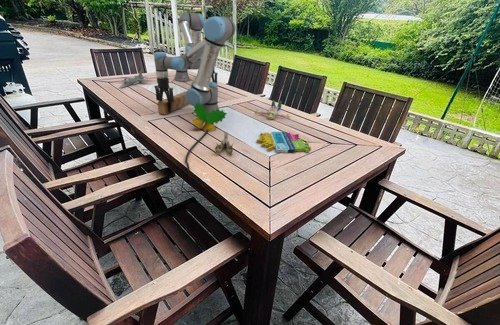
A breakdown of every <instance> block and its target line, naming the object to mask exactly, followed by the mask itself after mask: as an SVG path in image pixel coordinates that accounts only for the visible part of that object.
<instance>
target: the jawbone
mask: <svg viewBox="0 0 500 325" xmlns="http://www.w3.org/2000/svg"><path fill="white" fill-rule="evenodd" d="M223 135H224V136H223V140H222V139H221V142H220V144H218V142H215V144H216V146H215V148H214V149H215V152H214V154H215V155H217V156H218V155H220V153H221V152H223V151H224V150H226V152H227V153H228V155H229V156H233V155H234V154H233V153H234V148H233V144H234V143H230V140H228V139H229V138H228V137H229V136H228V135H229V133H228V131H226V132H224V134H223Z"/></svg>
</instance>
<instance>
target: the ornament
mask: <svg viewBox="0 0 500 325" xmlns="http://www.w3.org/2000/svg"><path fill="white" fill-rule="evenodd" d="M219 110H220V108H219V109H217V110H216V111H214V110H212V112H211V113H208V112H206V109H204V106H201V104H198V103H197V102H196V106H193V112H194V113H195V118H192V119H191V122H192V123H193V125H195V127H197V128H198V129H202V130H203V131H205V132H206V131H207V129H208V132H212V131H213V132H214V131H215V130H216V126H215V124H218V123H219V122H223V119H226V115H227V114H228V113H227V112H224V110H223V109H221V110H220V111H219ZM207 113H208V115H207ZM214 123H215V124H214Z"/></svg>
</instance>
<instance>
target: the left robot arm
mask: <svg viewBox="0 0 500 325" xmlns="http://www.w3.org/2000/svg"><path fill="white" fill-rule="evenodd" d="M203 15H204V14H202V13H198V12H183V13H182V14H181V15H180V16H179V18H178V23H177V24H178V28H179V29H180V30H181V33H182V36H183V39H184V43H185V48H184V50H185V53H187V52H188V51H189V50H190V49H192V48H193V47H194V46H196V45H197V44H198V43H199V42H201V32H202V31H203V27H204V23H205V18H204V16H203ZM201 58H202V57H201ZM201 58H199V59H198V60H197V61H195V62H194V64H193V65H192V66H190V67H185V68H183V69H182V70H175V76H174V80H175V81H176V82H190V80H191V78H190V75H189V73H188V72H189V71H190V70H191V71H193V70H196V71H198V69H199V66H200V62H201ZM215 68H216V67H214V70H213V73H212V76H211V82H215V83H217V84H218V72H216V71H215ZM188 70H189V71H188Z"/></svg>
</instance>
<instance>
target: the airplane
mask: <svg viewBox="0 0 500 325" xmlns="http://www.w3.org/2000/svg"><path fill="white" fill-rule="evenodd" d="M119 78H121V79H122V82H123V83H122V84H121V85H120V86H119V88H120V89H124V88H126V87H128V86H132V85H137V84H140V83H141V84H143V83H144V84H145V82H146V81H149V82H150V81H152V79H148V76H144V75H143V68H141V69H140V71H139V73H138V75H134V77H126V76H125V77H124V76H120V77H119ZM146 78H147V79H146Z"/></svg>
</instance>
